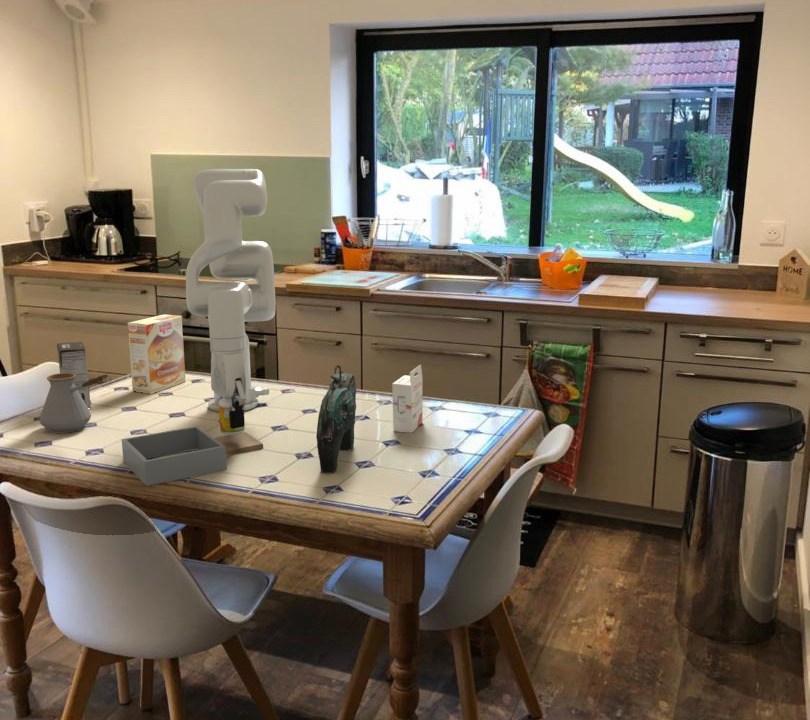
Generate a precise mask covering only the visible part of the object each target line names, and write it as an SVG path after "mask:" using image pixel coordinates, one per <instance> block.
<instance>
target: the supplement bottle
mask: <svg viewBox="0 0 810 720" xmlns="http://www.w3.org/2000/svg"><path fill="white" fill-rule="evenodd" d="M233 396H238V395H237V393H235V394H233ZM233 396H232V397H233ZM233 401H234V403H235V401H237V399H233ZM229 411H231V408H230V402H229V398H228V399H225V398H222V399H220V401H219V411H218V414H219V415H218V418H219V419H218V420H219V430H220V431H219V432H220V433H221V434H223V435H224V436H226V435H236V434H240V433H243V432H245V429H246V427H245V426H244V427H239V428H234V429H232V428H230V417H229Z"/></svg>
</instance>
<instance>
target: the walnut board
mask: <svg viewBox="0 0 810 720" xmlns="http://www.w3.org/2000/svg"><path fill="white" fill-rule="evenodd" d="M214 438H215V439H216V440H218V441H219V442H220V443H222V444H223V445H224V446H226V456H229V455H236V454H240V453H244V452H245V453H246V452H250V451H255V450H260V449H264V443H263V442H261V441H259V440H258V439H257V438H255V437H254V436H252V435H251V434H249V433H247V432H246V431H244V432H243V433H240V434H236V435H222V436H221V435H220V436H217V437H216V436H215V437H214Z"/></svg>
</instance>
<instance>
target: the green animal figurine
mask: <svg viewBox="0 0 810 720" xmlns="http://www.w3.org/2000/svg"><path fill="white" fill-rule="evenodd" d="M337 368H338V371H339V372H338V373H337ZM333 373H334V374H333V375H330V378H331V379H330V382H329V386H328V387H329V388H328V389H327V391H326V393H325V394H324V396H323V398H322V401H321V403H320V408H319V413H318V417H317V426H316V436H315V437H316V447H317V454H318V460H319V468H320V472H321V473H322V474H323V473H324V474H334V473H335V472H337V470H338V465H339V463H338V462H339V455H340V451H352V448H353V447H354V444H355V424H356V410H357V401H356V397H357V384H356V383H357V382H356V377H355V375H354V374H352V373H345V372H344V370H342V367H341V366H340V365H338V364H336V365H335V366H333Z"/></svg>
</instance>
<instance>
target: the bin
mask: <svg viewBox="0 0 810 720" xmlns="http://www.w3.org/2000/svg"><path fill="white" fill-rule="evenodd" d="M215 438H216V437H214V436H212V435H211V434H210V433H208V432H207V431H205V429H203V428H202V427H200V426H199V425H195V426H190V427H184V428H179V429H172V430H166V431H162V432H155V433H148V434H145V435H144V434H143V435H137V436H133V437H127V438H121V448H122V449H121V450H122V460H123V463H124V464H125V465H126V467H128V468H129V469H130V471H132V473H133V474H134V475H135V476H136V477H137V478H138V479H139V480H140V482H142V483H143V485H145V486H146V487H149V486H153V485H159V484H164V483H168V482H174V481H178V480H182V479H183V480H184V479H187V478H192V477H197V476H202V475H207V474H211V473H216V472H222V471H227V469H228V467H227V466H228V465H227V463H228V462H227V455H226V446H224V445H223V444H222V443H220V442H219V441H218V440H216V439H215ZM151 458H152V459H151Z"/></svg>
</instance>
